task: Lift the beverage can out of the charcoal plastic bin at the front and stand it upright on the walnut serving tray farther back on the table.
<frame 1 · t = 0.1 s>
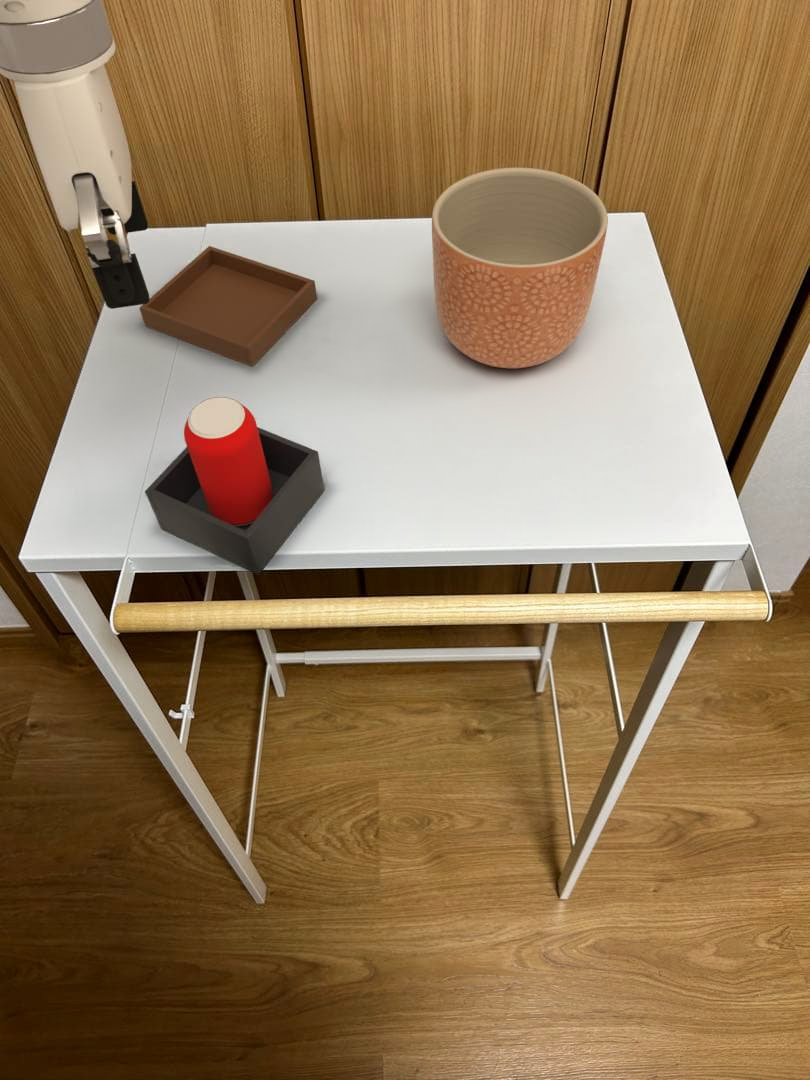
hand: (129, 265, 66), 22 cm above the table, tool pointing down, fingers open, 9 cm apart
bin: (244, 509, 79), on the table
tray: (232, 312, 97), on the table
beverage can: (243, 507, 79), resting on bin
planter: (508, 338, 93), on the table
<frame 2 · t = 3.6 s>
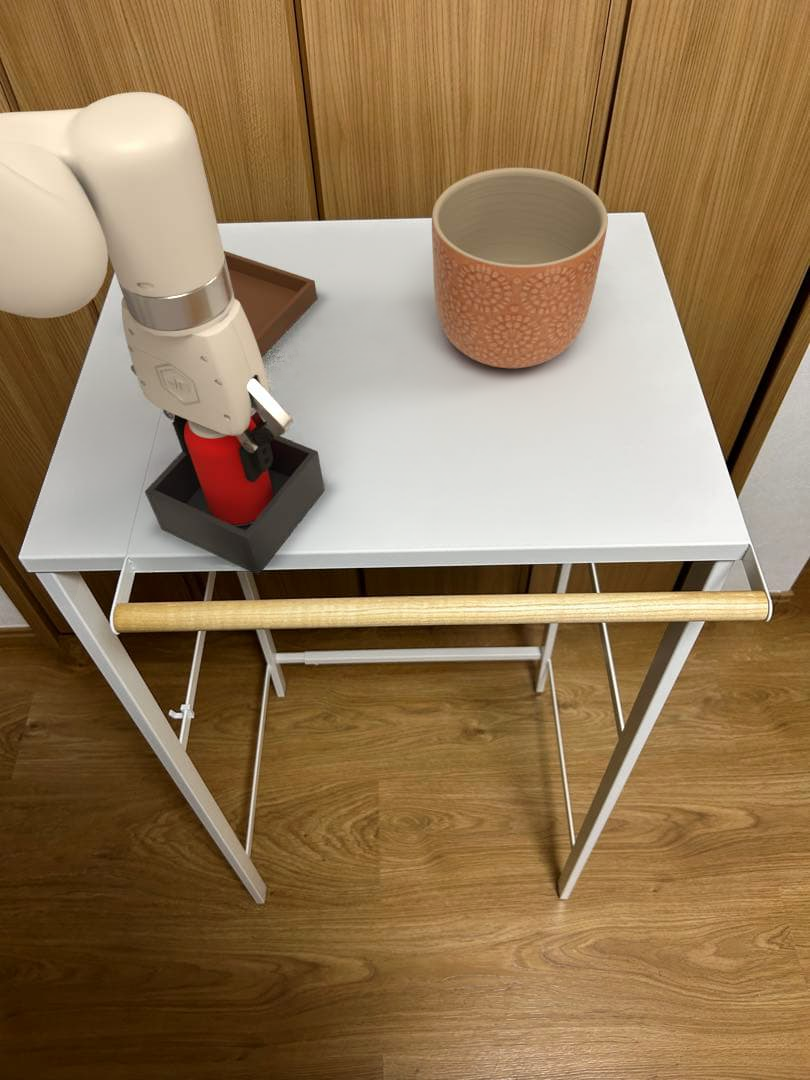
hand: (228, 455, 73), 8 cm above the table, tool pointing down, fingers closed on beverage can, 6 cm apart
beverage can: (243, 507, 79), resting on bin, touching gripper
everything else where it was.
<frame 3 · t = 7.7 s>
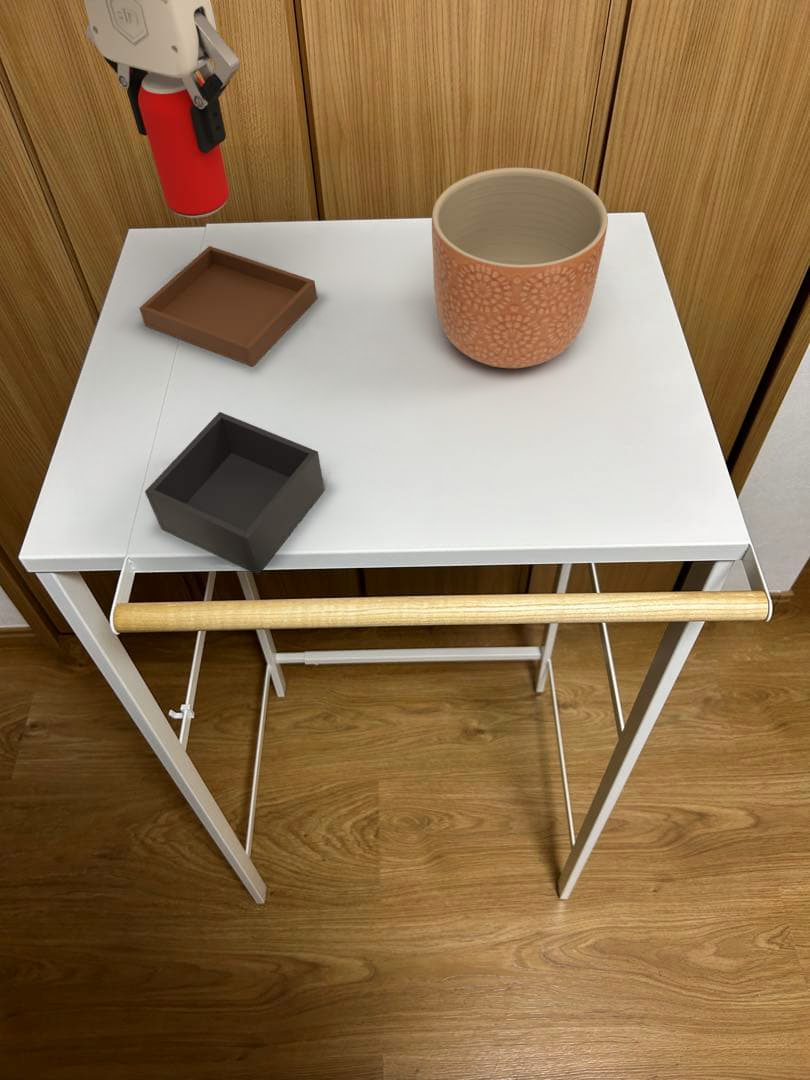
hand: (182, 135, 76), 23 cm above the table, tool pointing down, fingers closed on beverage can, 6 cm apart
beverage can: (200, 207, 81), point 16 cm above the table, touching gripper
everything else where it was.
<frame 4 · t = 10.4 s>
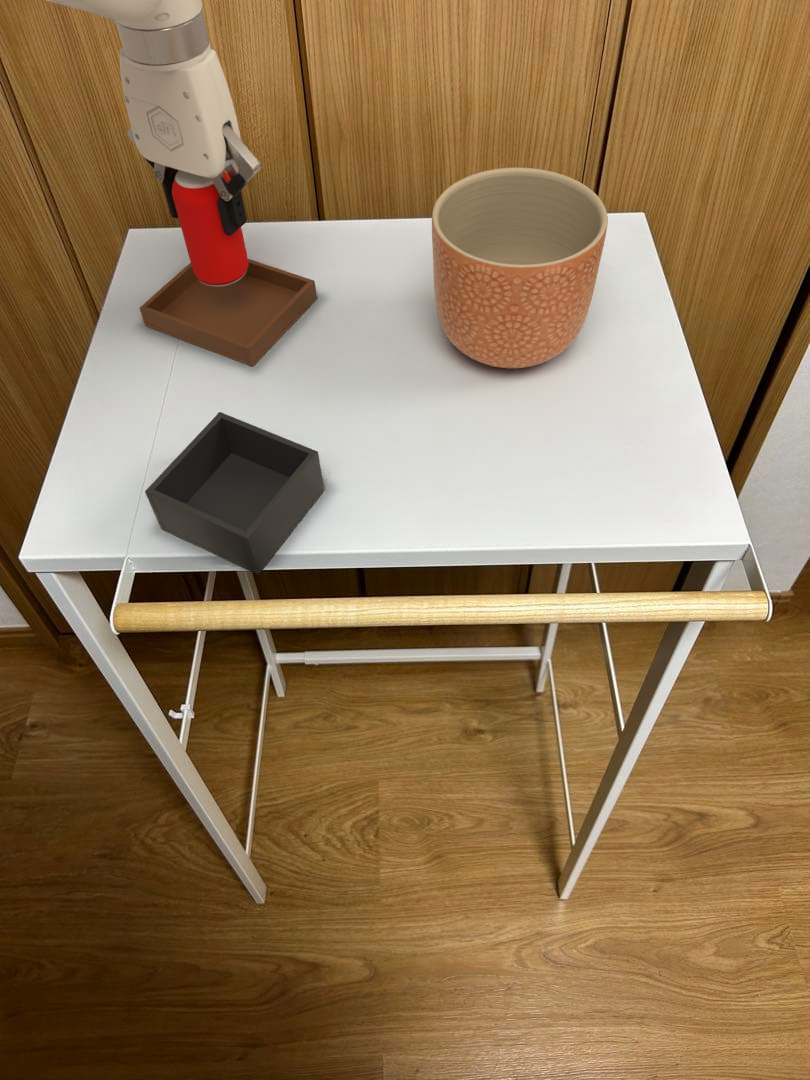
hand: (209, 218, 87), 12 cm above the table, tool pointing down, fingers closed on beverage can, 6 cm apart
beverage can: (223, 276, 93), point 5 cm above the table, touching gripper
everything else where it was.
when the fingers open (8 cm above the table, at t = 12.1 s): beverage can stays where it is, resting on tray.
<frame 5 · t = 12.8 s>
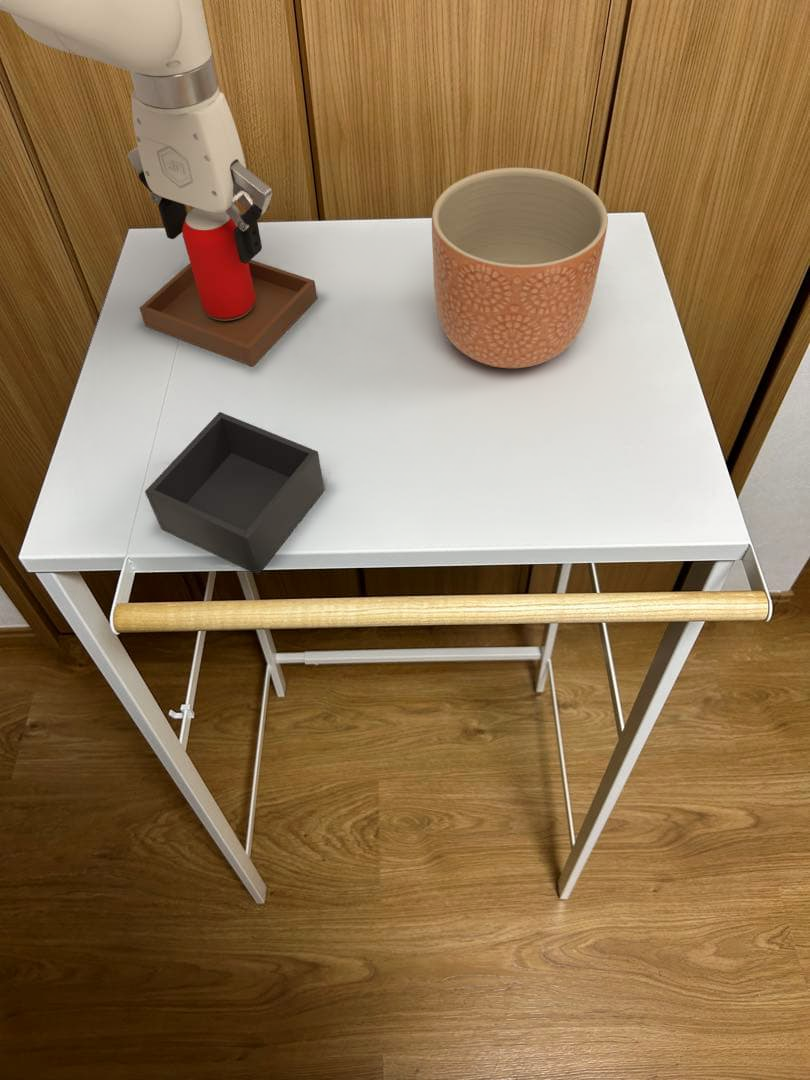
hand: (214, 244, 90), 9 cm above the table, tool pointing down, fingers open, 9 cm apart
beverage can: (231, 310, 97), resting on tray
everything else where it was.
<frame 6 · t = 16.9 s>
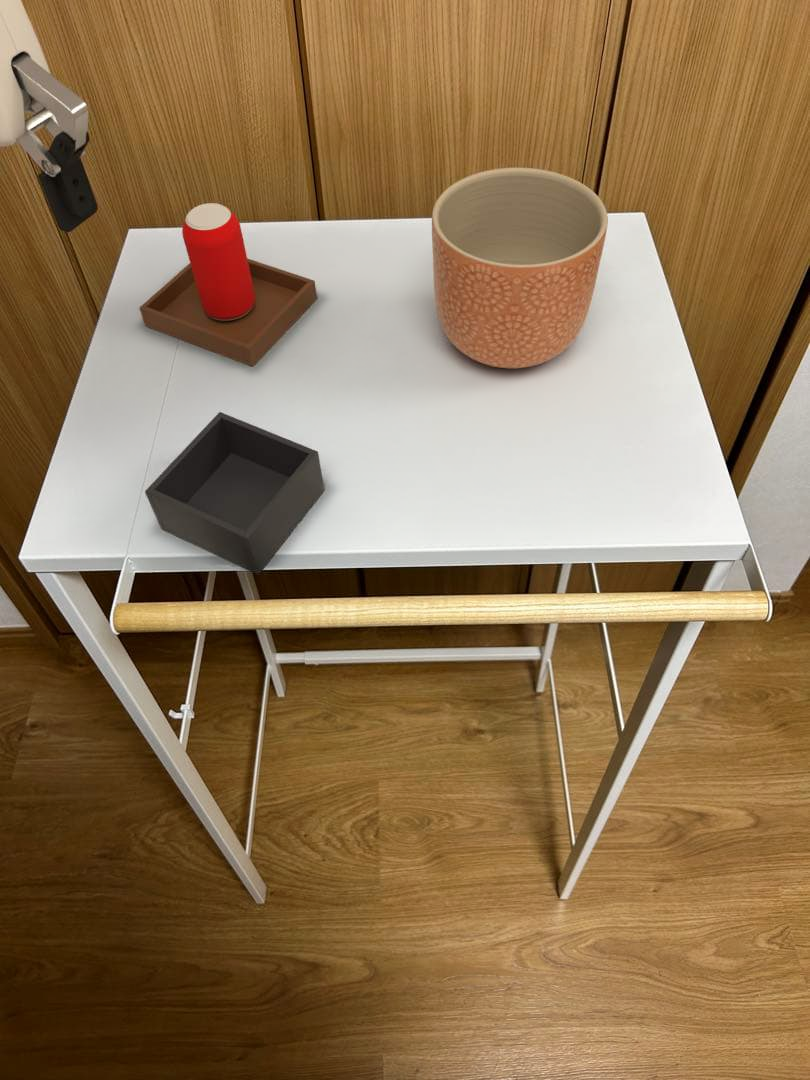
hand: (26, 202, 57), 30 cm above the table, tool pointing down, fingers open, 9 cm apart
nothing on the table moved.
at the end: beverage can inside the target area in the tray (0.1 cm from its centre), point 0.4 cm above the tray's base; beverage can tilted 0°; the gripper is holding nothing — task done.
